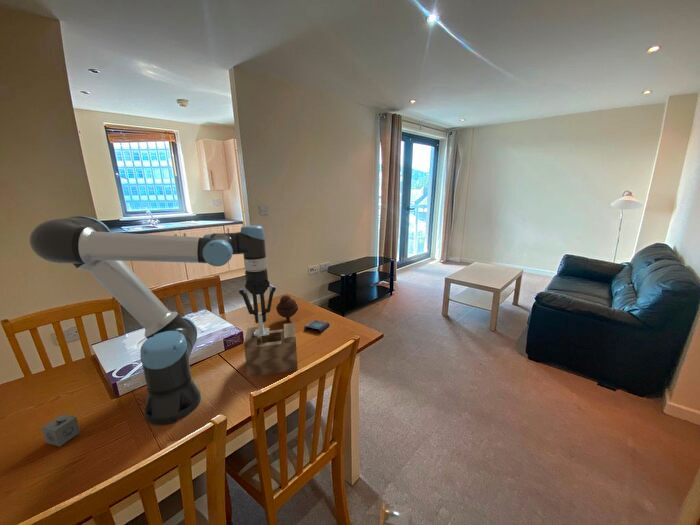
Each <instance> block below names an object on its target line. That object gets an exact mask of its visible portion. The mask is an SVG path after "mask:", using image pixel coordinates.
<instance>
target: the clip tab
mask: <svg viewBox="0 0 700 525" xmlns="http://www.w3.org/2000/svg"><path fill="white" fill-rule="evenodd" d="M270 329H271V328H270V327H264V332H259V329H254V330H253V335H252V337H258V336H266V335H269V331H271V330H270Z"/></svg>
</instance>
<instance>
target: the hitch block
mask: <svg viewBox="0 0 700 525" xmlns="http://www.w3.org/2000/svg"><path fill="white" fill-rule="evenodd" d="M254 329H259V326H254V327H247V328H246V332H245V336H244V341H243V345H244V346H243V348H244V357H245V366H246V376H247V378H250V377H257V376H264V375H271V374H278V373H285V372H287V373H288V372H293V371H298V370H299V369H298V368H299V366H298V354H297V337H296V326H295V322H290V323H284V324H283V329H282V328H281V329H271V330H270V331H269V335H266V336H258V337H252V335H253V330H254Z"/></svg>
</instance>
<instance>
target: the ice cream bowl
mask: <svg viewBox="0 0 700 525" xmlns="http://www.w3.org/2000/svg"><path fill="white" fill-rule="evenodd" d="M275 309H276V313H277V315H279V316H280V317H282V318H285V321H286V322H287V323H288V322H291V321H290V320H291V318H292V317H293V316H294V315H296V313H297V312H298V309H299V305H298V304H297V302H296V300H295V299H293V298H292V297H291V296H290V295H287V294H286V295H283V296H282V295H281V297H280V299H279V302H278V303H277V305H276V306H275Z"/></svg>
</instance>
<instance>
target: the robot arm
mask: <svg viewBox="0 0 700 525" xmlns="http://www.w3.org/2000/svg"><path fill="white" fill-rule="evenodd" d="M265 241H266V238H265V231H264V228H263V226H261V225H259V224H257V225H255V224H254V225H253V224H250V225H243V226H241V227H240V231H238V232H224V233H223V232H220V233H216V232H212V233H206V234H204V235H203V237H200V236H199V237H198V236H185V235H184V236H181V235H180V236H179V235H167V234H166V235H163V234H162V235H161V234H149V233H148V234H144V233H131V232H130V233H129V232H127V233H126V232H115V231H111V230H110V228H109V227H108V226H107V225H106V224H105V223H104V222H102V221H101V220H100V219H97V218H94V217H90V216H84V215H83V216H82V215H80V216H79V215H77V216H76V215H74V216H69V217H65V218H57V219H49V220H46V221H43V222H41V223H39V224H38V225H36V227H34V229H33V230H32V231H31V232H30V236H29V245H30V248H31V249H32V251H33V252H34V253H35V255H36V256H38V257H39V258H40V259H43V260H45V261H48V262H50V263H54V264H72V265H73V266H74V267H75V268H76V270H80V271H87V272H88V273H90V274H91V275H92V277H93V278H94V279H95V280H96V281H97V282H99V284H100V285H101V286H102V287H103V288H104V289H105V290H106V291H107V292H108V293H109V294H110V295H111V296H112V297H113V298H114V299H115V300H116V301H117V302H118V303H119V304H120V305H121V306H122V307H123V308H124V309H125V311H127V312H128V313H129V314H130V315H131V316H132V317H133V318H134V319H135V320H136V321H137V322H138V323H139V325H141V326H142V327H143V328H144V330H145V331H144V337H145V338H146V340H145V341H144V342H143V343H142V344H141V347H140V350H139V351H140V352H139V353H140V361H141V364H142V370H143V376H144V379H145V384H146V387H147V397H146V402H145V406H144V417H145V420H146V421H147V423H148V424H151V425H155V426H164V425H171V424H173V423H176V422H178V420H181V419H183V418H185V417H187V416H189V415H190V414H191V413H193V412H194V411H195V410H196V409H197V407H198V406H199V405H200V403H201V400H202V396H201V391H200V389H199V388H198V386H197V384H196V383H195V381H194V380H193V378H192V373H191V367H190V366H191V364H190V357H191V355H192V352H193V349H194V346H195V345H196V342H197V340H198V329H197V326H196V324H195V322H194V321H193V320H191V319H189V318H187V317H183V316H181V314H180V313H179V312H177V311H170V310H169V309H168V307H166V306H165V305H164V303H163V302H162V301H161V300H160V299H159V298H158V297H157V295H156V294H154V293H153V291H152V290H150V288H149V287H148V286H147V285H146V283H144V282H143V281H142V279H141V278H139V276H138V275H137V274H136V273H135V272H134V270H132V269H131V267H130V266H129V265H128V264H127V263H126V262H155V263H156V262H157V263H194V264H195V263H196V264H197V263H198V264H209V265H210V266H211V267H222V266H223V267H224V265H227V263H229V261H230V260H231V259H232V257H233V255H243V263H244V269H245V271H244V273H245V275H244V276H245V284H244V286H243V287H241V288H239V290H238V293H239V294H240V296H242V298H243V300H244V304H245V306H246V309H247V311H248V314H249V315H253V316H254V322H255V323H256V324H258V328H259V332H264V328H265V324H264V323H266V321H267V313H271V309H272V304H273V298H274V293H275V292H276V290H277V286H276V285H272V284H270V281H269V276H268V275H269V274H268V269H267V267H268V265H267V264H268V263H267V262H268V261H267V256H266V255H267V254H266V252H267V250H266V242H265ZM267 290H269V296H268V301H267V307H266V302H265V301H266V300H265V293H266V292H267ZM247 292H249V293H250V294H251V295H252V303H251V300H250V298H249V295H248V293H247ZM257 295H259V297H260V308H261V312H259V305H258V303H259V302H258V296H257ZM252 304H253V306H252Z"/></svg>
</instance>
